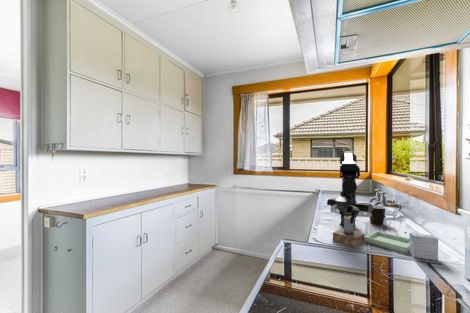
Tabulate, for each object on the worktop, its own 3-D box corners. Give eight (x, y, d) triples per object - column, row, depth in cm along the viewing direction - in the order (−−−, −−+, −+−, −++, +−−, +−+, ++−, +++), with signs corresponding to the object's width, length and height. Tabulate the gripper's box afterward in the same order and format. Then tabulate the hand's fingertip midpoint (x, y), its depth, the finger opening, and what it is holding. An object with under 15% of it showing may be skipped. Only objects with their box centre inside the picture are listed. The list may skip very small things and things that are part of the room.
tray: (364, 242, 105) (364, 236, 105) (376, 235, 114) (376, 230, 114) (406, 254, 93) (406, 247, 92) (415, 245, 101) (415, 240, 101)
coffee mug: (368, 220, 140) (368, 204, 140) (384, 223, 135) (384, 206, 135) (368, 225, 129) (368, 208, 129) (386, 228, 125) (386, 210, 125)
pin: (343, 233, 106) (343, 216, 106) (346, 231, 108) (346, 215, 108) (350, 234, 104) (350, 217, 104) (353, 233, 105) (353, 216, 105)
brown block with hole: (332, 240, 107) (332, 232, 107) (342, 236, 113) (343, 228, 113) (354, 247, 99) (354, 238, 99) (364, 242, 105) (364, 233, 105)
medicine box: (432, 256, 91) (432, 234, 91) (438, 261, 86) (438, 238, 86) (409, 253, 93) (409, 232, 93) (413, 258, 89) (413, 236, 89)
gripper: (321, 188, 108) (320, 221, 108) (362, 194, 93) (362, 231, 93) (332, 186, 115) (332, 217, 115) (373, 191, 100) (373, 226, 100)
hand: (348, 223), depth 106 cm, fingers closed on pin, 3 cm apart
